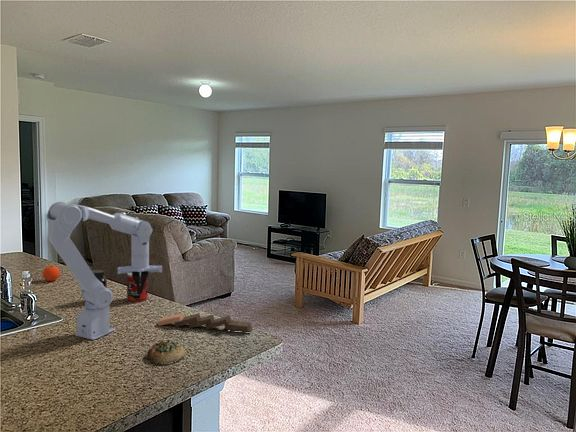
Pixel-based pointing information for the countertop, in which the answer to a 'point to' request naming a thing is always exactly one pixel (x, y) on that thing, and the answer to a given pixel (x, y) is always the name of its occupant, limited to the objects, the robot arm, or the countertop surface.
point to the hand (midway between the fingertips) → (140, 292)
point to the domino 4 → (218, 322)
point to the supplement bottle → (100, 276)
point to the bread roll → (165, 352)
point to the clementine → (51, 273)
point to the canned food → (133, 291)
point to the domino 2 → (188, 320)
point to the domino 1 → (171, 319)
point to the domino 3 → (202, 321)
